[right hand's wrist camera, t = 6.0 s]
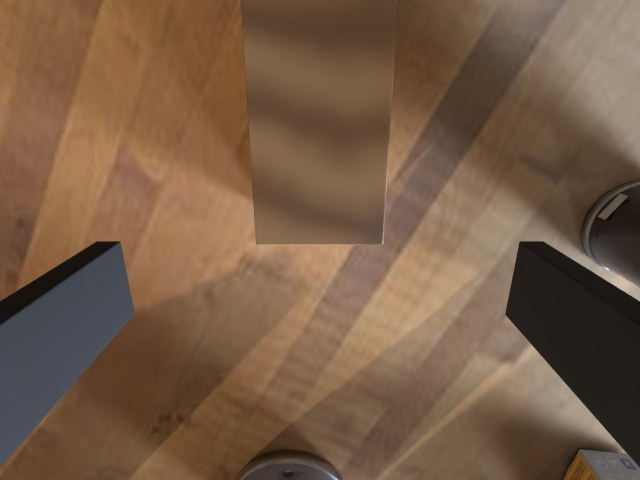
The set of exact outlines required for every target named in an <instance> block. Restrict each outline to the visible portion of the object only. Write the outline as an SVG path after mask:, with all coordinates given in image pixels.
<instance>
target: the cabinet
mask: <svg viewBox="0 0 640 480" xmlns="http://www.w3.org/2000/svg"><path fill="white" fill-rule="evenodd" d="M397 9H398V0H241V11H242V26H243V42H244V58H245V74H246V90H247V106H248V122H249V138H250V154H251V170H252V186H253V202H254V218H255V234H256V245H383V235H384V219H385V203H386V187H387V170H388V154H389V138H390V122H391V106H392V90H393V74H394V58H395V41H396V25H397Z"/></svg>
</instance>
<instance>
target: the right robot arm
mask: <svg viewBox="0 0 640 480" xmlns="http://www.w3.org/2000/svg"><path fill="white" fill-rule="evenodd" d="M134 315H135V314H134V309H133V304H132V299H131V294H130V288H129V283H128V278H127V273H126V268H125V263H124V258H123V253H122V248H121V243H120V242H95V243H94V244H92V245H91V246H89V247H87V248H86V249H84V250H82V251H81V252H79V253H78V254H76V255H74V256H73V257H71V258H70V259H68V260H66V261H65V262H63V263H62V264H60V265H58V266H57V267H55V268H53V269H52V270H50V271H49V272H47V273H45V274H44V275H42V276H41V277H39V278H37V279H36V280H34V281H32V282H31V283H29V284H28V285H26V286H24V287H23V288H21V289H20V290H18V291H16V292H15V293H13V294H12V295H10V296H8V297H7V298H5V299H3V300H2V301H0V468H1V466H2V465H3V464H4V463H5V462H6V461H7V460H8V458H9V457H10V456H11V455H12V454H13V453H14V452H15V450H16V449H17V448H18V447H19V446H20V445H21V444H22V442H23V441H24V440H25V439H26V438H27V437H28V436H29V434H30V433H31V432H32V431H33V430H34V429H35V428H36V426H37V425H38V424H39V423H40V422H41V421H42V420H43V418H44V417H45V416H46V415H47V414H48V413H49V412H50V410H51V409H52V408H53V407H54V406H55V405H56V404H57V402H58V401H59V400H60V399H61V398H62V397H63V396H64V395H65V393H66V392H67V391H68V390H69V389H70V388H71V387H72V385H73V384H74V383H75V382H76V381H77V380H78V379H79V377H80V376H81V375H82V374H83V373H84V372H85V371H86V369H87V368H88V367H89V366H90V365H91V364H92V363H93V361H94V360H95V359H96V358H97V357H98V356H99V355H100V353H101V352H102V351H103V350H104V349H105V348H106V347H107V345H108V344H109V343H110V342H111V341H112V340H113V339H114V337H115V336H116V335H117V334H118V333H119V332H120V331H121V329H122V328H123V327H124V326H125V325H126V324H127V323H128V322H129V320H130V319H131V318H132V317H133V316H134ZM505 315H506V316H507V317H508V318H509V319H510V320H511V322H512V323H513V324H514V325H515V326H516V327H517V328H518V329H519V331H520V332H521V333H522V334H523V335H524V336H525V337H526V339H527V340H528V341H529V342H530V343H531V344H532V345H533V347H534V348H535V349H536V350H537V351H538V352H539V353H540V355H541V356H542V357H543V358H544V359H545V360H546V361H547V363H548V364H549V365H550V366H551V367H552V368H553V369H554V371H555V372H556V373H557V374H558V375H559V376H560V377H561V379H562V380H563V381H564V382H565V383H566V384H567V385H568V387H569V388H570V389H571V390H572V391H573V392H574V393H575V395H576V396H577V397H578V398H579V399H580V400H581V401H582V402H583V404H584V405H585V406H586V407H587V408H588V409H589V410H590V412H591V413H592V414H593V415H594V416H595V417H596V418H597V420H598V421H599V422H600V423H601V424H602V425H603V426H604V428H605V429H606V430H607V431H608V432H609V433H610V434H611V436H612V437H613V438H614V439H615V440H616V441H617V442H618V444H619V445H620V446H621V447H622V448H623V449H624V450H625V452H626V453H627V454H628V455H629V456H630V457H631V458H632V460H633V461H634V462H635V463H636V464H637V465H638V466H639V468H640V301H638V300H637V299H635V298H633V297H632V296H630V295H628V294H627V293H625V292H624V291H622V290H620V289H619V288H617V287H616V286H614V285H612V284H611V283H609V282H608V281H606V280H604V279H603V278H601V277H599V276H598V275H596V274H595V273H593V272H591V271H590V270H588V269H587V268H585V267H583V266H582V265H580V264H578V263H577V262H575V261H574V260H572V259H570V258H569V257H567V256H566V255H564V254H562V253H561V252H559V251H558V250H556V249H554V248H553V247H551V246H549V245H548V244H546V243H545V242H520V243H519V248H518V253H517V258H516V263H515V268H514V273H513V278H512V283H511V288H510V294H509V299H508V304H507V309H506V314H505ZM237 480H343V479H342V477H341V475H340V474H339V472H338V471H337V470H336V469H335V468H334V467H333V466H332V465H331V464H329V463H328V462H326V461H325V460H323V459H321V458H319V457H316V456H314V455H311V454H307V453H302V452H294V451H283V452H275V453H270V454H267V455H264V456H261V457H259V458H257V459H255V460H253V461H252V462H250V463H249V464H248V465H247V466H245V467H244V468H243V470H242V471H241V472H240V474H239V475H238V477H237Z"/></svg>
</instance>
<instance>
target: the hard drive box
mask: <svg viewBox="0 0 640 480" xmlns="http://www.w3.org/2000/svg"><path fill="white" fill-rule="evenodd" d="M564 480H640V468H639V466H638V465H637V464H636V463H635V462H634V461H633V460H632V458H631V457H630V456H629V455H628V454H623V453H612V452H603V451H593V450H583V449H580V450H579V451H578V453H577V455H576V457H575V459H574V461H573V463H572V464H571V465H570V466H569V468H568V470H567V472H566V476H565V478H564Z"/></svg>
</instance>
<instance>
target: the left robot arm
mask: <svg viewBox="0 0 640 480" xmlns="http://www.w3.org/2000/svg"><path fill="white" fill-rule="evenodd" d="M582 244H583V248H584V250H585V252H586V254H587V255H588V257H589V258H590V259H591V260H592V261H594V262H595V263H597V264H598V265H600V266H602V267H604V268H606V269H608V270H611V271H613V272H614V273H616V274H618V275H620V276H621V277H623V278H625V279H626V280H628V281H630V282H631V283H633V284H635V285H637V286H638V287H640V181H636V182H630V183H627V184H624V185H621V186H619V187H617V188H615V189H613V190H611V191H610V192H608V193H607V194H605V195H604V196H603V197H602V198H601V199H600V200H599V201H598V202H597V203H596V204H595V205H594V206H593V207H592V209H591V210H590V212H589V214H588V215H587V217H586V219H585V222H584V225H583V229H582Z"/></svg>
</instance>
